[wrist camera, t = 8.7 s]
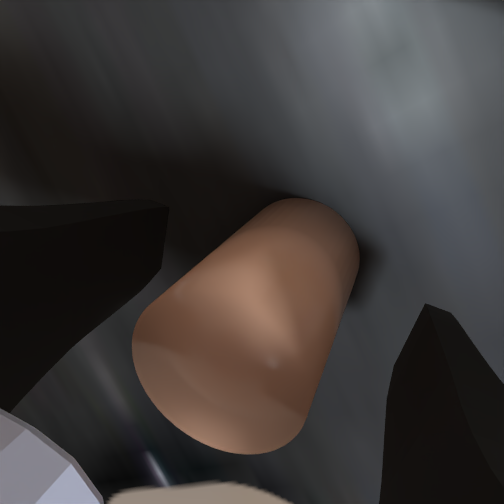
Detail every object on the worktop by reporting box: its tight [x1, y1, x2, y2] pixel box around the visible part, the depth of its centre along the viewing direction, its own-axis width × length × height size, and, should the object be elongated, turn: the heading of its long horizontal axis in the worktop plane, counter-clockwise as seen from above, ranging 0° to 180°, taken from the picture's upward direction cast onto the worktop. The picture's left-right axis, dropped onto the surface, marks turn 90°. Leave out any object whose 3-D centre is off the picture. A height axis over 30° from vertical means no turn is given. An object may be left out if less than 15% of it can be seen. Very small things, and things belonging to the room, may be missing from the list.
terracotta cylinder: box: [132, 198, 360, 454], centre depth 10 cm, size 4×4×6 cm
